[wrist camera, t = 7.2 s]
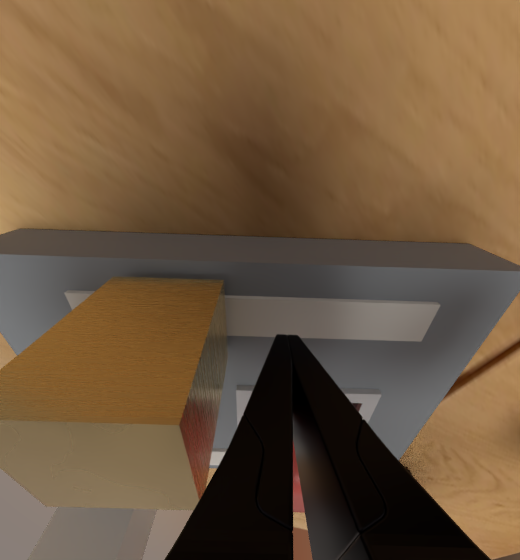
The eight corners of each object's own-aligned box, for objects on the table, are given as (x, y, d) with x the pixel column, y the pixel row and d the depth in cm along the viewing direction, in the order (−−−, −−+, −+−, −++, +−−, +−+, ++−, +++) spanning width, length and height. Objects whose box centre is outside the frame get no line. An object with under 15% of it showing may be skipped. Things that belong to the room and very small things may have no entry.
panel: (372, 429, 19) (391, 477, 17) (118, 422, 19) (92, 469, 16) (469, 243, 11) (542, 275, 8) (19, 228, 11) (-68, 255, 8)
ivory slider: (167, 475, 16) (132, 593, 12) (111, 473, 16) (56, 591, 12) (156, 447, 14) (109, 577, 10) (93, 446, 14) (18, 574, 10)
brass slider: (227, 356, 10) (201, 510, 6) (139, 354, 10) (45, 506, 6) (223, 280, 8) (179, 425, 4) (113, 276, 8) (-60, 418, 4)
